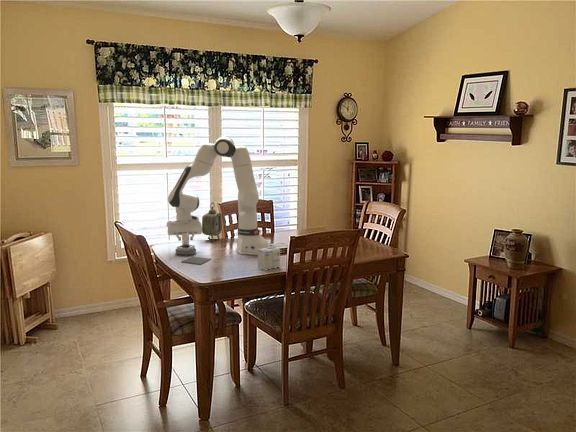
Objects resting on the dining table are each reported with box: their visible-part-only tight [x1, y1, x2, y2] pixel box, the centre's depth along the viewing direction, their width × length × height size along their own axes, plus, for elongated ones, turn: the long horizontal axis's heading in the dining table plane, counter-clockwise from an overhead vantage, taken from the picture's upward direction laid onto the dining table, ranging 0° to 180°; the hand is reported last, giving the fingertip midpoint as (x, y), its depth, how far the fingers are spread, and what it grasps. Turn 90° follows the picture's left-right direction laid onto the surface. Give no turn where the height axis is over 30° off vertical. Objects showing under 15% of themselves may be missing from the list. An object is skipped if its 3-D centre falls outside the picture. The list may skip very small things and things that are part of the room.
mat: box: [181, 255, 212, 266], centre depth 285 cm, size 12×12×1 cm
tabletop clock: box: [201, 201, 223, 242], centre depth 337 cm, size 14×9×25 cm, turn 168°
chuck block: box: [174, 244, 197, 257], centre depth 300 cm, size 12×12×4 cm
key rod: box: [181, 232, 190, 248], centre depth 299 cm, size 4×4×10 cm
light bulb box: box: [257, 246, 281, 271], centre depth 274 cm, size 11×7×11 cm, turn 129°
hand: (185, 239), depth 299 cm, fingers open, 5 cm apart
